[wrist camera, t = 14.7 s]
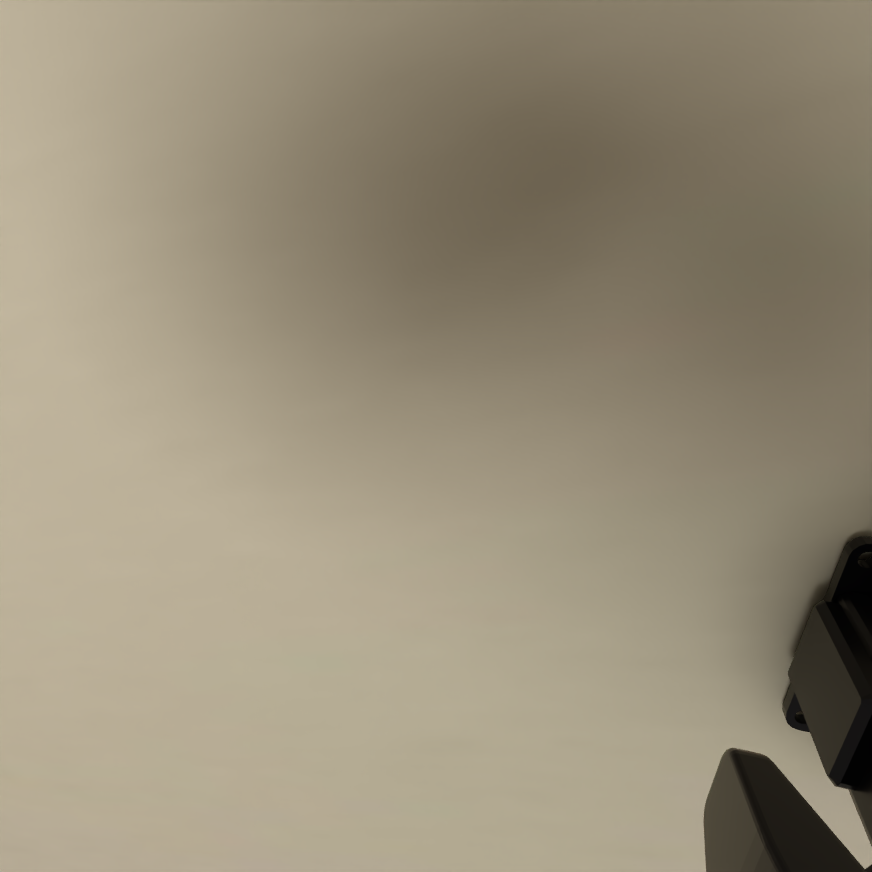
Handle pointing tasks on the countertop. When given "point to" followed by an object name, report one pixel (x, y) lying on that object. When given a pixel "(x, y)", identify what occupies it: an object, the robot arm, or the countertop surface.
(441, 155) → the countertop surface
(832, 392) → the countertop surface
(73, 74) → the countertop surface
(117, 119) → the countertop surface
